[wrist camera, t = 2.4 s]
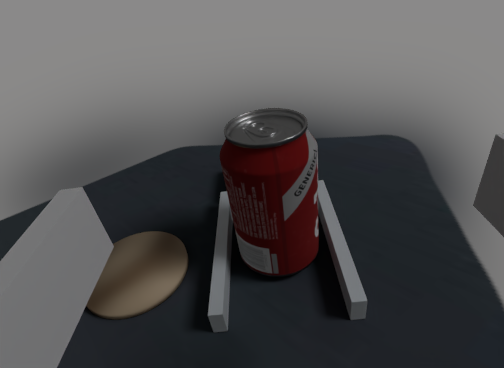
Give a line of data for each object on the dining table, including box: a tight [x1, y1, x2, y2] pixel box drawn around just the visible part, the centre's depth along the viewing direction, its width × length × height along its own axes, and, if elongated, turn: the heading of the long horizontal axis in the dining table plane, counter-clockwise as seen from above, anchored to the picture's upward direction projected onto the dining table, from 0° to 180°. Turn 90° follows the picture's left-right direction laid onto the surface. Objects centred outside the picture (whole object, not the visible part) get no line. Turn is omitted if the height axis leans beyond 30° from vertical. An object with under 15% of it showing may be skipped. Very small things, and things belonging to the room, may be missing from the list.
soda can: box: [220, 108, 319, 277], centre depth 24 cm, size 7×7×12 cm
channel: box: [208, 180, 367, 332], centre depth 27 cm, size 14×10×2 cm
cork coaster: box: [86, 231, 188, 320], centre depth 28 cm, size 9×9×1 cm
